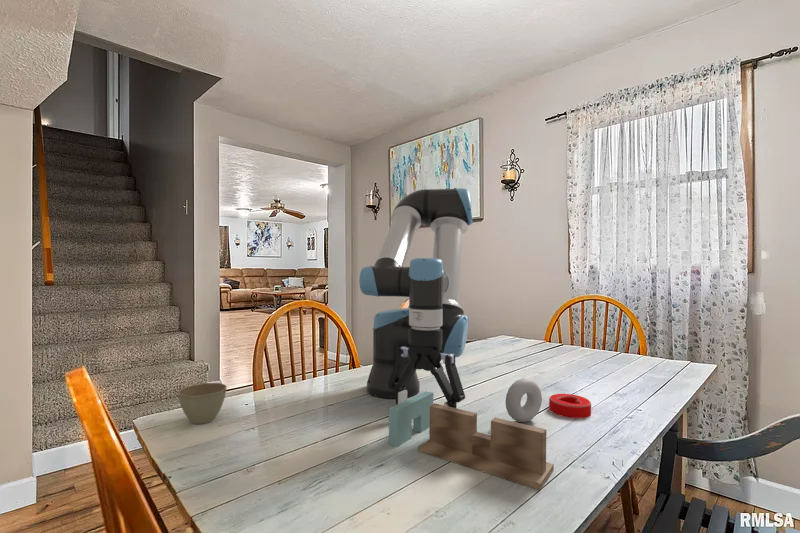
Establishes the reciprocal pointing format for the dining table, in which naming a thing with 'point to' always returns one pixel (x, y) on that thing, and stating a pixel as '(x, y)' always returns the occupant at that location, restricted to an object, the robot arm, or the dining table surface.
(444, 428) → the jig
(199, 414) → the olive beige bowl
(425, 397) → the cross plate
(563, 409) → the decorative ornament
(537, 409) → the donut
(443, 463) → the dining table surface
